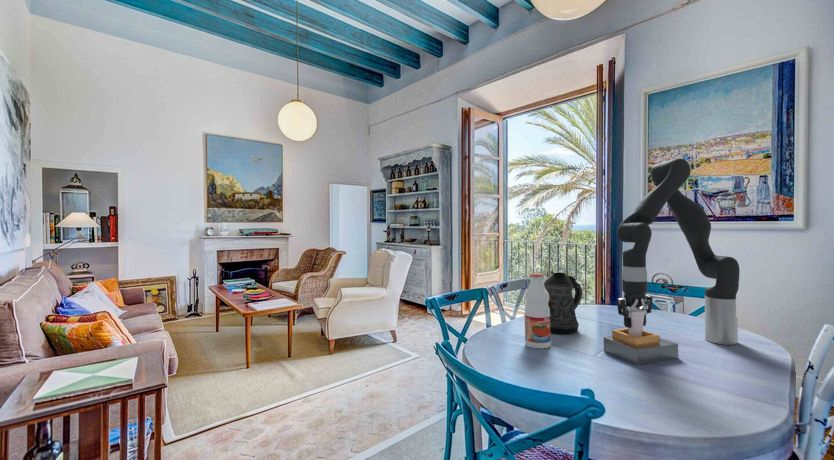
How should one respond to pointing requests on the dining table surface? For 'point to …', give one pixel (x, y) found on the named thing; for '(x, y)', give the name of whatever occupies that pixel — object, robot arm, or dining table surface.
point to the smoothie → (636, 322)
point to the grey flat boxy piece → (640, 347)
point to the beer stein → (563, 303)
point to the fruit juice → (537, 313)
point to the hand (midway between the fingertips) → (635, 326)
